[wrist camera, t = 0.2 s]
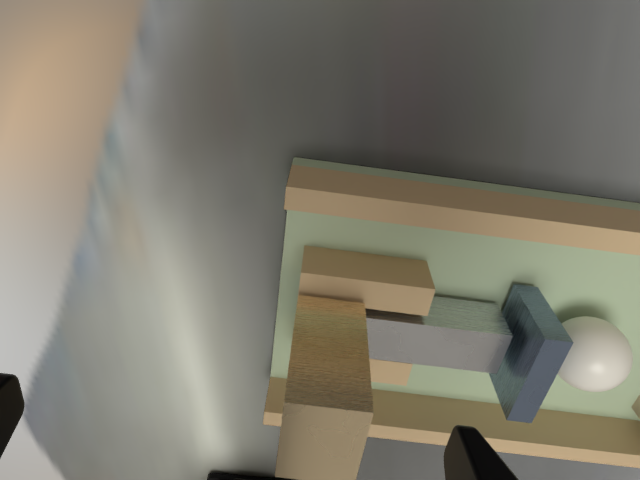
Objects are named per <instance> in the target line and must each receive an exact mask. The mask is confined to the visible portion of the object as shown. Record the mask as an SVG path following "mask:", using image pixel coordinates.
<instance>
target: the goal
mask: <svg viewBox="0 0 640 480" xmlns="http://www.w3.org/2000/svg"><path fill="white" fill-rule="evenodd" d="M632 409H633V410H634V412H635V413H636V415H637V416H638V418H639V419H640V395H639V396H638V398H637V399H636V401H635V402H634V404H633V405H632Z"/></svg>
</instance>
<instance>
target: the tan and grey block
mask: <svg viewBox="0 0 640 480" xmlns="http://www.w3.org/2000/svg"><path fill="white" fill-rule="evenodd" d="M573 343H574V342H573V341H572V339H571V338H570V336H569V335H568V333H567V332H566V330H565V329H564V327H563V325H562V324H561V322H560V321H559V319H558V318H557V316H556V315H555V313H554V312H553V310H552V308H551V307H550V305H549V304H548V302H547V301H546V299H545V298H544V296H543V295H542V293H541V291H540V290H539V288H538V287H533V286H526V285H518V284H513V287H512V289H511V292H510V294H509V297H508V299H507V302H506V304H505V307H504V309H503V312H502V313H501V310H500V308H499V306H498V304H492V303H484V302H476V301H468V300H461V299H453V298H445V297H437V296H433V300H432V303H431V306H430V309H429V313H428V316H423V315H415V314H407V313H399V312H390V311H382V310H374V309H366V308H365V303H358V302H350V301H342V300H334V299H326V298H318V297H310V296H302V295H298V299H297V307H296V314H295V322H294V329H293V337H292V345H291V352H290V360H289V367H288V375H287V383H286V390H285V398H284V406H283V414H282V422H281V429H280V437H279V445H278V453H277V461H276V469H275V477H281V478H289V479H298V480H356V477H357V474H358V470H359V466H360V462H361V459H362V455H363V451H364V447H365V444H366V440H367V436H368V432H369V429H370V425H371V421H372V417H373V414H374V411H373V399H372V386H371V373H370V361H369V359H378V360H386V361H394V362H403V363H411V364H419V365H427V366H436V367H444V368H452V369H461V370H469V371H477V372H485V373H489V376H490V378H491V381H492V383H493V386H494V389H495V391H496V394H497V397H498V399H499V402H500V404H501V407H502V410H503V412H504V415H505V418H506V420H508V421H517V422H525V423H532V422H533V420H534V418H535V416H536V414H537V412H538V410H539V408H540V406H541V404H542V402H543V400H544V399H545V397H546V395H547V393H548V391H549V389H550V387H551V385H552V383H553V381H554V379H555V377H556V375H557V374H558V372H559V370H560V368H561V366H562V364H563V362H564V360H565V358H566V356H567V354H568V352H569V350H570V349H571V347H572V345H573Z"/></svg>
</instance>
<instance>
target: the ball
mask: <svg viewBox="0 0 640 480" xmlns="http://www.w3.org/2000/svg"><path fill="white" fill-rule="evenodd" d="M562 325H563V327H564V329H565V330H566V332H567V333H568V335H569V336H570V338H571V339H572V341H573V342H574V343H573V345H572V347H571V349H570V350H569V352H568V354H567V356H566V358H565V360H564V362H563V364H562V366H561V368H560V370H559V372H558V375H559V377H560V378H561V379H563V380H564V381H565V382H566V383H568V384H569V385H571V386H573V387H575V388H577V389H580V390H583V391H589V392H603V391H607V390H610V389H613V388H615V387H617V386H618V385H620V384H621V383H622V382H623V381H624V380H625V379H626V378H627V377H628V375H629V373H630V371H631V368H632V364H633V353H632V349H631V346H630V344H629V342H628V340H627V338H626V337H625V335H624V334H623V333H622V332H621V331H620V330H619V329H618V328H617V327H615V326H614V325H613V324H611V323H609V322H607V321H605V320H603V319H600V318H596V317H589V316H582V317H575V318H571V319H569V320H567V321H565V322H563V323H562Z"/></svg>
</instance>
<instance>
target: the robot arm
mask: <svg viewBox="0 0 640 480" xmlns="http://www.w3.org/2000/svg"><path fill="white" fill-rule="evenodd" d="M23 411H24V399H23V395H22V391H21V387H20V383H19V380H18V378H17V377H16V376H15V375H13V374H3V373H0V458H1V456H2V454H3V452H4V450H5V448H6V446H7V444H8V442H9V440H10V438H11V436H12V434H13V432H14V430H15V428H16V426H17V424H18V422H19V420H20V418H21V416H22V414H23ZM444 468H445V478H446V480H518V478H517V477H516V476H515V475H514V474H513V472H512V471H511V470H510V469H509V467H508V466H507V465H506V464H505V463H504V461H503V460H502V459H501V458H500V456H499V455H498V454H497V453H496V452H495V450H494V449H493V448H492V447H491V446H490V444H489V443H488V442H487V441H486V439H485V438H484V437H483V436H482V435H481V433H480V432H479V431H478V430H477V429H476V428H475V427H472V426H464V425H456V426H455V427H454V428H453V430H452V432H451V435H450V438H449V440H448V443H447V445H446V448H445V452H444ZM207 480H276V479H267V478H258V477H249V476H240V475H232V474H223V473H210V474H208V477H207Z"/></svg>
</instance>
